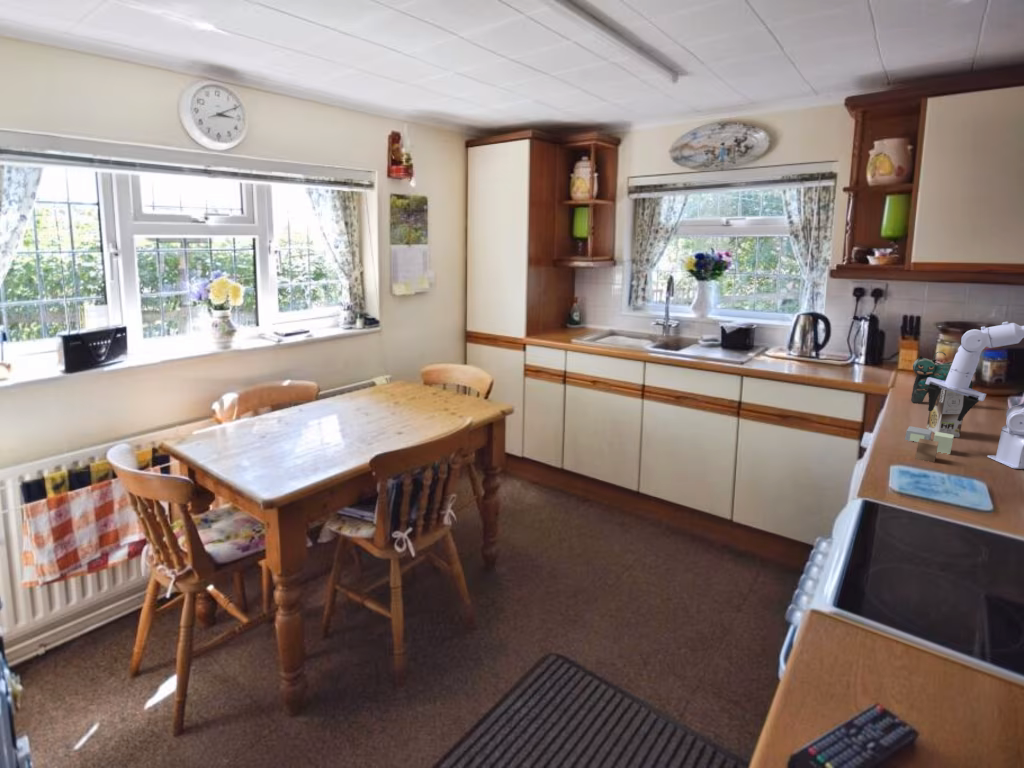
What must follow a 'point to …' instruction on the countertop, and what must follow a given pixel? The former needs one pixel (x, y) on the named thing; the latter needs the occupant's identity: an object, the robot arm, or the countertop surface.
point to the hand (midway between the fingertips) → (944, 415)
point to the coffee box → (946, 413)
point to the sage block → (944, 442)
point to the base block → (917, 434)
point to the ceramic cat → (925, 370)
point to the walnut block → (926, 450)
